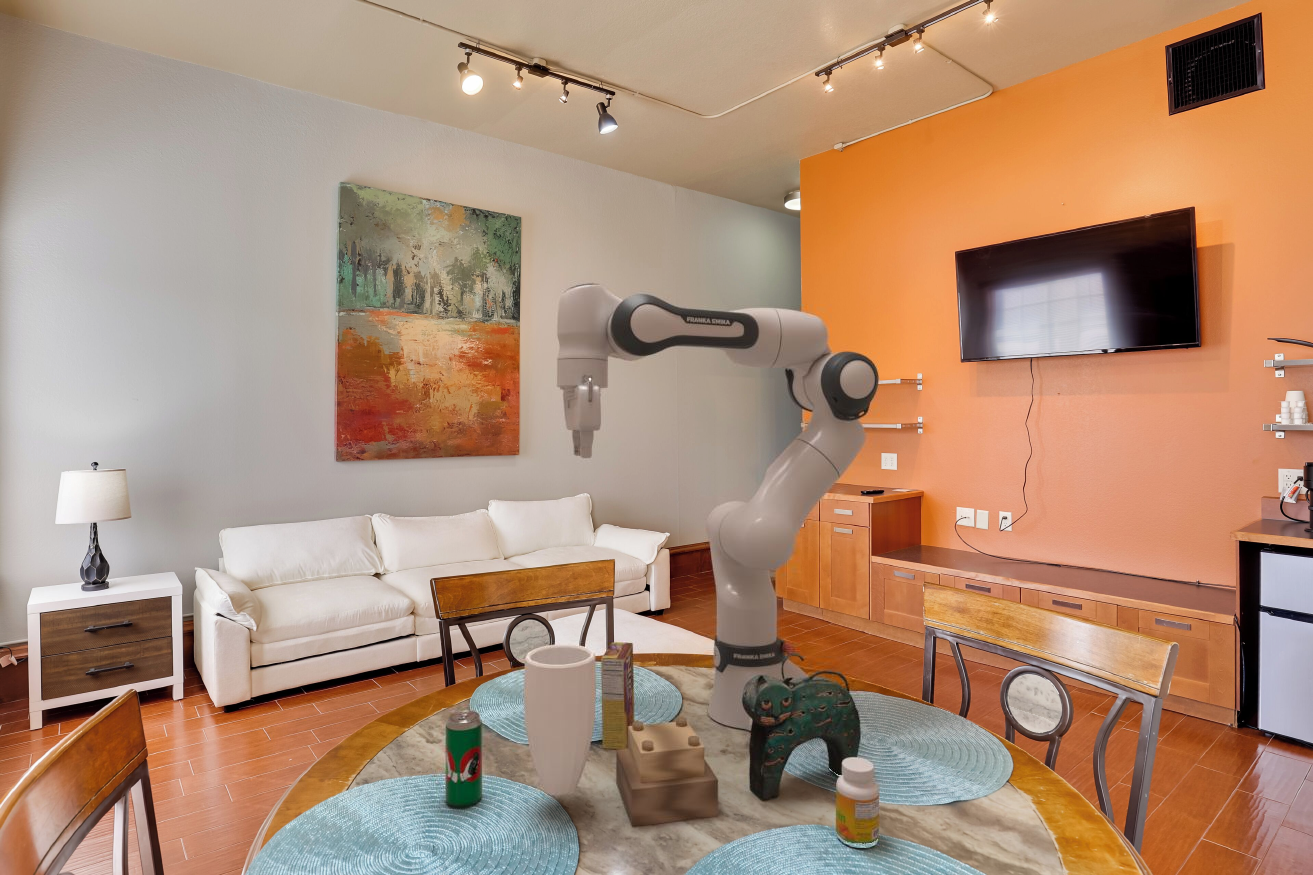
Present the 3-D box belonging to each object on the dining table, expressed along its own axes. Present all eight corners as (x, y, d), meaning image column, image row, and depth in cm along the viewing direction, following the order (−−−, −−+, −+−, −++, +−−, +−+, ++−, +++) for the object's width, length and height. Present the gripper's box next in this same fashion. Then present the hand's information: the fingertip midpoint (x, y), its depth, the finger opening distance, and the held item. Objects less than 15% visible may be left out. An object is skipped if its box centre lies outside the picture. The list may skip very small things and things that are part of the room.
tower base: (693, 774, 109) (693, 710, 109) (717, 815, 98) (718, 744, 97) (616, 782, 106) (616, 717, 106) (631, 826, 95) (632, 753, 95)
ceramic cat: (756, 808, 100) (757, 666, 99) (732, 786, 106) (733, 652, 105) (867, 778, 108) (868, 647, 108) (839, 760, 114) (840, 636, 114)
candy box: (611, 726, 126) (611, 640, 126) (635, 728, 126) (635, 642, 126) (600, 748, 118) (600, 657, 117) (625, 750, 117) (626, 658, 117)
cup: (565, 837, 92) (565, 672, 92) (506, 813, 98) (506, 657, 97) (612, 801, 101) (612, 650, 101) (555, 782, 107) (555, 638, 106)
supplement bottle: (829, 827, 95) (830, 754, 95) (869, 825, 95) (869, 753, 95) (844, 851, 90) (844, 774, 89) (885, 849, 90) (886, 773, 90)
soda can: (487, 791, 104) (487, 709, 104) (474, 810, 99) (474, 724, 98) (453, 789, 104) (453, 708, 104) (439, 808, 99) (439, 722, 99)
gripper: (610, 373, 115) (609, 459, 115) (592, 381, 135) (592, 454, 135) (571, 373, 114) (570, 459, 114) (558, 380, 133) (558, 454, 134)
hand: (582, 456), depth 125 cm, fingers open, 8 cm apart
